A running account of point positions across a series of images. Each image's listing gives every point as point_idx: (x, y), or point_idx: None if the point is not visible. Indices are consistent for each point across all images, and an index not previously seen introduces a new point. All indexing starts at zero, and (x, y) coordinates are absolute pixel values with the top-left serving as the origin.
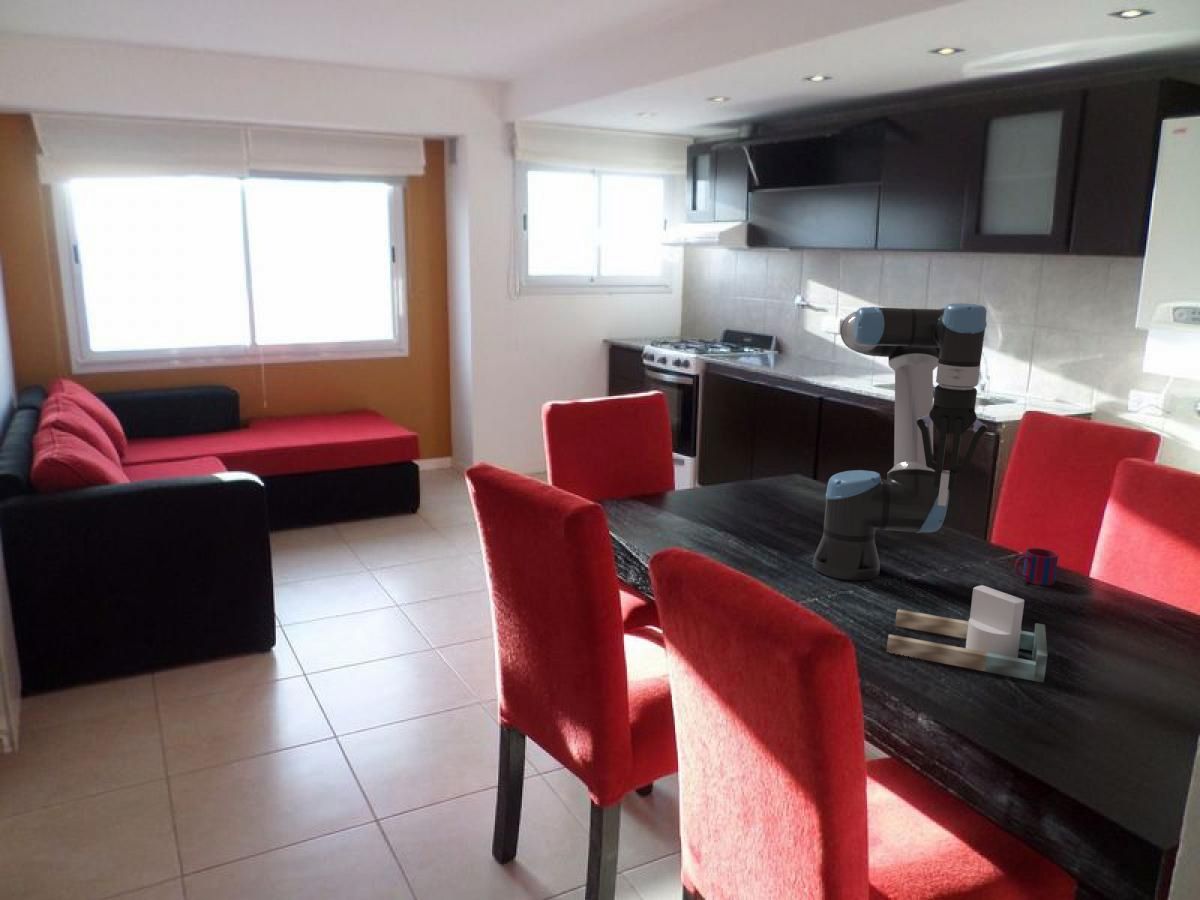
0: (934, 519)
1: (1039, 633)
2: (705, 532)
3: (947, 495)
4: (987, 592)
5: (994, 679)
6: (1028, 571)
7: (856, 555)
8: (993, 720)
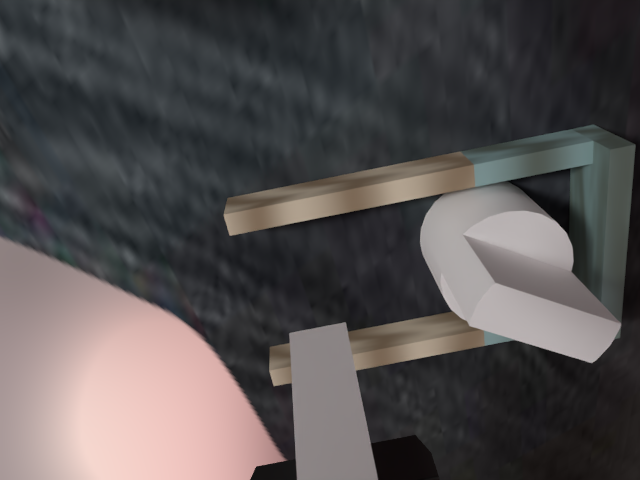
0: None
1: (614, 220)
2: None
3: (354, 365)
4: (513, 331)
5: None
6: None
7: None
8: (501, 468)
